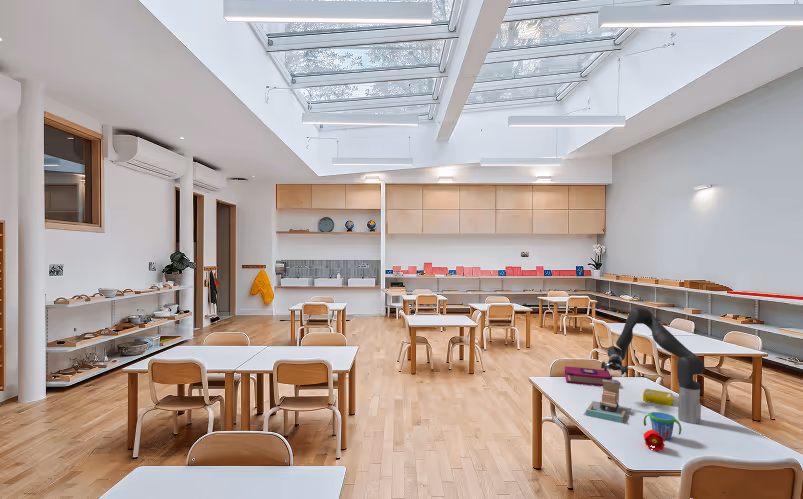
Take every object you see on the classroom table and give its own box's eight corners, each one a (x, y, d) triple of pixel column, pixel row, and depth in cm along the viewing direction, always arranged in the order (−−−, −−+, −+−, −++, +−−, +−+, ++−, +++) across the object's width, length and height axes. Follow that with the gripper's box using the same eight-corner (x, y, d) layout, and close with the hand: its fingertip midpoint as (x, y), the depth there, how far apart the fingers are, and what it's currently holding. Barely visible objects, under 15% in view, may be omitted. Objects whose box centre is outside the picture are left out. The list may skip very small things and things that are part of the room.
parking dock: (592, 401, 260) (593, 395, 260) (631, 409, 249) (631, 402, 249) (583, 415, 237) (583, 409, 237) (624, 424, 226) (625, 417, 226)
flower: (664, 434, 202) (668, 440, 194) (656, 448, 203) (660, 455, 195) (647, 424, 204) (650, 430, 197) (638, 438, 205) (641, 445, 198)
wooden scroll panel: (602, 404, 255) (602, 379, 255) (619, 407, 250) (620, 382, 250) (598, 409, 246) (599, 383, 246) (616, 413, 241) (617, 386, 241)
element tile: (672, 407, 256) (672, 398, 256) (642, 401, 264) (642, 393, 264) (673, 400, 269) (673, 392, 269) (644, 395, 277) (645, 387, 277)
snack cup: (639, 434, 214) (640, 413, 214) (649, 429, 221) (649, 408, 221) (675, 445, 202) (676, 423, 202) (684, 440, 209) (684, 418, 209)
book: (564, 375, 318) (564, 364, 318) (607, 379, 310) (607, 368, 310) (566, 383, 298) (566, 372, 298) (612, 388, 290) (612, 376, 290)
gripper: (603, 353, 275) (601, 362, 261) (629, 358, 268) (628, 368, 254) (602, 365, 276) (600, 375, 262) (627, 370, 269) (627, 380, 255)
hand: (614, 371), depth 258 cm, fingers open, 8 cm apart
